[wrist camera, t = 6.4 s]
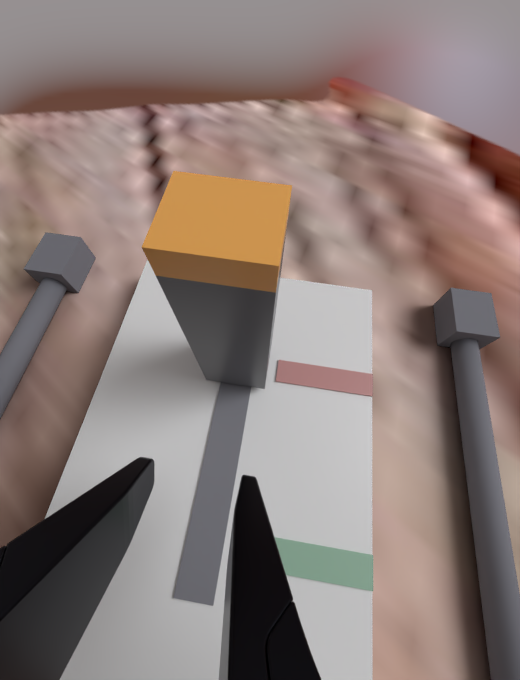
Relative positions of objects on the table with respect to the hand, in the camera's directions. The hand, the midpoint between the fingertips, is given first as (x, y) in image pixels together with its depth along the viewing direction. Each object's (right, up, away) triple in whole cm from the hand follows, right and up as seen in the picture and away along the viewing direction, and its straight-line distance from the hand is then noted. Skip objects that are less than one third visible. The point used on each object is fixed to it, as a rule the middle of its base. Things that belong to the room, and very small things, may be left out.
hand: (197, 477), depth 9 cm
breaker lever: (+1, +3, +7) cm, 8 cm away
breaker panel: (0, -2, +8) cm, 8 cm away
